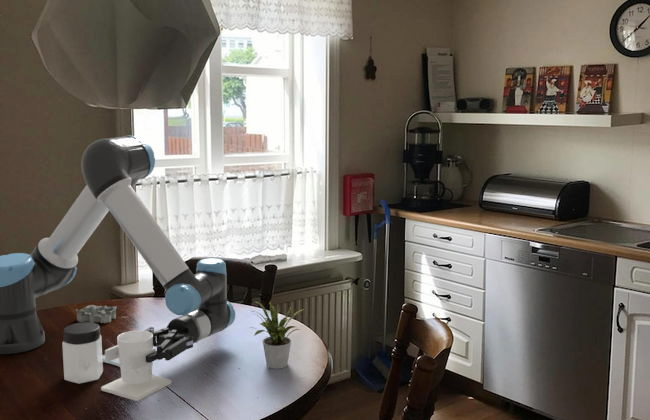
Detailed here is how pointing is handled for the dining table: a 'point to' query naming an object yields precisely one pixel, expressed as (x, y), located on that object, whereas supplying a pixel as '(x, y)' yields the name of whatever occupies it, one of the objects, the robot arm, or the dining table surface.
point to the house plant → (276, 338)
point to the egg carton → (96, 314)
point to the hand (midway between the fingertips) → (119, 359)
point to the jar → (82, 352)
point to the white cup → (130, 347)
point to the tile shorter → (136, 387)
